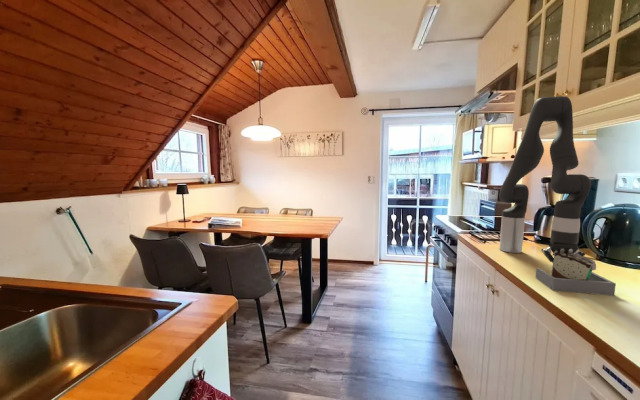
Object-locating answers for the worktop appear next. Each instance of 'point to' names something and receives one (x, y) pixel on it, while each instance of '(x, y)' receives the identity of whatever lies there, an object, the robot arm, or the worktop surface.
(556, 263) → the food container
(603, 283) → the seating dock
